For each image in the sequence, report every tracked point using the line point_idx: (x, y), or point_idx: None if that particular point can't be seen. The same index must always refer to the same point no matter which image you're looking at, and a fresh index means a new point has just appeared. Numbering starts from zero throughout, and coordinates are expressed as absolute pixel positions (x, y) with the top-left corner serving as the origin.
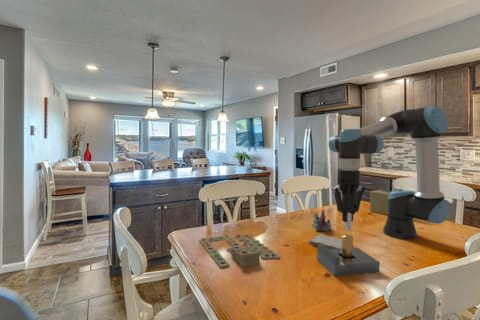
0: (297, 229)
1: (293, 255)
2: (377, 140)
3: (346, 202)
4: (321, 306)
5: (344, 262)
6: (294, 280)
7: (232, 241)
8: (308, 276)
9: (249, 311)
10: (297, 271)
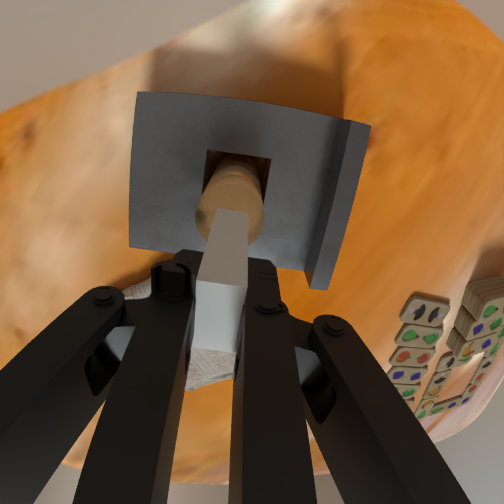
0: (217, 432)
1: (362, 304)
2: None
3: (286, 433)
4: (465, 35)
5: (295, 133)
6: (461, 162)
7: (431, 395)
8: (418, 162)
9: None
10: (426, 204)
